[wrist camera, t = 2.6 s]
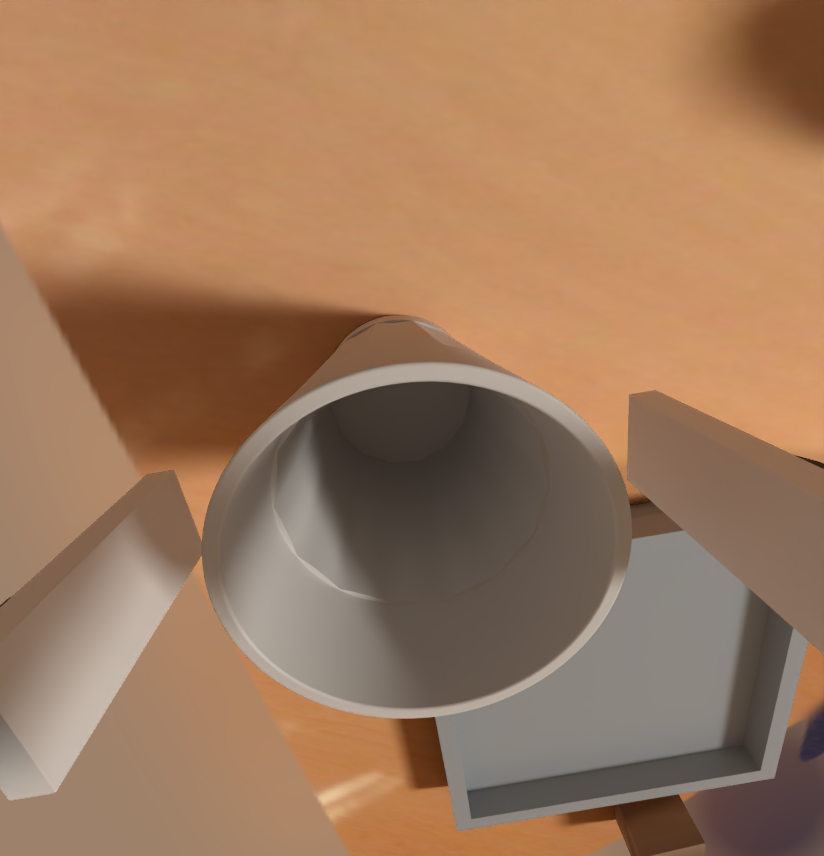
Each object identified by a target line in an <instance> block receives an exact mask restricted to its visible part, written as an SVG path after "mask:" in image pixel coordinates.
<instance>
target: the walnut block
mask: <svg viewBox="0 0 824 856" xmlns="http://www.w3.org/2000/svg"><path fill="white" fill-rule="evenodd" d="M614 810H615V817H616V821H617V823H618V826H619V828H620V830H621V833H622V835H623V838H624V840H625V842H626V845H627V847H628V850H629V852H630V854H631V856H706V855H705V842H704V840H703V838H702V837H701V835H700V833H699V831H698V829H697V827H696V826H695V824H694V822H693V820H692V818H691V817H690V815H689V813H688V811H687V809H686V807H685V805H684V804H683V802H682V800H681V798H680V796H679V795H678V794H677V795H671V796H665V797H659V798H653V799H647V800H641V801H635V802H629V803H623V804H617V805H614Z"/></svg>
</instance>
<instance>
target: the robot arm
mask: <svg viewBox="0 0 824 856" xmlns="http://www.w3.org/2000/svg"><path fill="white" fill-rule="evenodd" d="M627 480H628V481H629V482H630V483H631V484H632V485H634V486H635V487H636V488H637V489H638V490H639V491H640V492H641V493H643V494H644V495H645V496H646V497H647V498H648V499H649V500H650V501H652V502H653V503H654V504H655V505H656V506H657V507H658V508H659V509H661V510H662V511H663V512H664V513H665V514H666V515H667V516H668V517H670V518H671V519H672V520H673V521H674V522H675V523H676V524H677V525H678V526H680V527H681V528H682V529H683V530H684V531H685V532H686V533H687V534H689V535H690V536H691V537H692V538H693V539H694V540H695V541H696V542H698V543H699V544H700V545H701V546H702V547H703V548H704V549H705V550H707V551H708V552H709V553H710V554H711V555H712V556H713V557H714V558H716V559H717V560H718V561H719V562H720V563H721V564H722V565H723V566H725V567H726V568H727V569H728V570H729V571H730V572H731V573H732V574H734V575H735V576H736V577H737V578H738V579H739V580H740V581H741V582H743V583H744V584H745V585H746V586H747V587H748V588H749V589H750V590H752V591H753V592H754V593H755V594H756V595H757V596H758V597H759V598H761V599H762V600H763V601H764V602H765V603H766V604H767V605H768V606H770V607H771V608H772V609H773V610H774V611H775V612H776V613H777V614H779V615H780V616H781V617H782V618H783V619H784V620H785V621H786V622H788V623H789V624H790V625H791V626H792V627H793V628H794V629H795V630H797V631H798V632H799V633H800V634H801V635H802V636H803V637H804V638H806V639H807V640H808V641H809V642H810V643H811V644H812V645H813V646H815V647H816V648H817V649H818V650H819V651H820V652H821V653H822V654H824V464H823V463H821V462H818V461H814V460H810V459H807V458H803V457H799V456H796V455H792V454H790V453H788V452H786V451H784V450H782V449H780V448H778V447H775V446H773V445H771V444H769V443H767V442H765V441H763V440H761V439H758V438H756V437H754V436H752V435H750V434H748V433H746V432H743V431H741V430H739V429H737V428H735V427H733V426H731V425H729V424H726V423H724V422H722V421H720V420H718V419H716V418H714V417H711V416H709V415H707V414H705V413H703V412H701V411H699V410H697V409H694V408H692V407H690V406H688V405H686V404H684V403H682V402H680V401H677V400H675V399H673V398H671V397H669V396H667V395H665V394H662V393H660V392H658V391H656V390H654V391H648V392H642V393H636V394H630V395H629V421H628V461H627ZM201 555H202V542H201V539H200V536H199V534H198V531H197V529H196V526H195V523H194V521H193V518H192V516H191V513H190V510H189V508H188V505H187V503H186V500H185V497H184V495H183V492H182V490H181V487H180V484H179V482H178V479H177V477H176V474H175V471H174V470H170V471H164V472H158V473H152V474H147V475H146V476H145V477H144V478H143V479H142V480H140V481H139V482H138V483H137V484H136V485H135V486H134V487H133V488H132V489H130V491H128V492H127V493H126V494H125V495H124V496H123V497H122V498H121V499H120V500H118V501H117V502H116V503H115V504H114V505H113V506H112V507H111V508H110V509H108V510H107V511H106V512H105V513H104V514H103V515H102V516H101V517H100V518H98V519H97V521H95V522H94V523H93V524H92V525H91V526H90V527H88V528H87V529H86V530H85V531H84V532H83V533H82V534H81V535H80V536H79V537H78V538H76V539H75V540H74V541H73V542H72V543H71V544H70V545H69V546H67V547H66V548H65V549H64V550H63V551H62V552H61V553H60V554H59V555H58V556H56V557H55V558H54V559H53V560H52V561H51V562H50V563H49V564H48V565H46V566H45V567H44V568H43V569H42V570H41V571H40V572H39V573H38V574H36V575H35V576H34V577H33V578H32V579H31V580H30V581H29V582H28V583H27V584H26V585H24V587H22V588H21V589H20V590H19V591H18V592H17V593H15V594H14V595H13V596H12V597H10V598H9V599H7V600H6V601H5V602H4V603H3V604H1V605H0V789H1V790H2V791H3V793H4V794H5V795H6V797H7V798H8V799H9V801H10V800H16V799H22V798H28V797H34V796H40V795H45V794H52V793H56V791H57V789H58V788H59V786H60V784H61V783H62V781H63V780H64V778H65V776H66V775H67V773H68V771H69V770H70V768H71V767H72V765H73V763H74V762H75V760H76V758H77V757H78V755H79V754H80V752H81V750H82V748H83V747H84V745H85V744H86V742H87V740H88V739H89V737H90V736H91V734H92V732H93V731H94V729H95V728H96V726H97V724H98V722H99V721H100V719H101V718H102V716H103V715H104V713H105V711H106V710H107V708H108V706H109V705H110V703H111V701H112V700H113V698H114V697H115V695H116V693H117V692H118V690H119V689H120V687H121V685H122V684H123V682H124V680H125V679H126V677H127V676H128V674H129V672H130V671H131V669H132V667H133V666H134V664H135V662H136V661H137V659H138V658H139V656H140V654H141V653H142V651H143V650H144V648H145V646H146V645H147V643H148V641H149V640H150V638H151V636H152V635H153V633H154V631H155V630H156V628H157V627H158V625H159V624H160V622H161V620H162V619H163V617H164V615H165V614H166V612H167V610H168V608H169V607H170V606H171V604H172V602H173V601H174V599H175V598H176V596H177V594H178V593H179V591H180V589H181V588H182V586H183V585H184V583H185V581H186V580H187V578H188V576H189V575H190V573H191V572H192V570H193V568H194V567H195V565H196V563H197V562H198V560H199V559H200V557H201Z"/></svg>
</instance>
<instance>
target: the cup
mask: <svg viewBox="0 0 824 856" xmlns="http://www.w3.org/2000/svg"><path fill="white" fill-rule="evenodd" d="M631 543H632V518H631V509H630V503H629V498H628V494H627V490H626V487H625V484H624V481H623V478H622V476H621V473H620V471H619V469H618V467H617V464H616V463H615V461H614V459H613V457H612V455H611V454H610V452H609V450H608V449H607V447H606V446H605V444H604V443H603V442H602V440H601V439H600V438H599V436H598V435H597V434H596V433H595V431H594V430H593V429H592V428H591V427H590V426H589V425H588V424H587V423H586V422H585V421H584V420H583V419H582V418H581V417H580V416H579V415H578V414H577V413H576V412H574V411H573V410H572V409H571V408H570V407H568V406H567V405H566V404H564V403H563V402H562V401H560V400H559V399H557V398H556V397H554V396H553V395H551V394H549V393H548V392H546V391H544V390H542V389H541V388H539V387H537V386H535V385H533V384H532V383H530V382H528V381H526V380H524V379H522V378H521V377H519V376H517V375H515V374H513V373H511V372H510V371H508V370H506V369H504V368H502V367H501V366H499V365H497V364H495V363H493V362H491V361H490V360H488V359H486V358H484V357H483V356H481V355H479V354H478V353H476V352H475V351H473V350H471V349H470V348H468V347H466V346H465V345H463V344H461V343H460V342H458V341H457V340H455V339H453V338H452V337H451V336H450V335H449V334H448V333H447V332H445V331H444V330H443V329H441V328H440V327H438V326H437V325H435V324H433V323H431V322H429V321H427V320H424V319H421V318H417V317H413V316H406V315H392V316H385V317H381V318H377V319H374V320H371V321H369V322H367V323H365V324H363V325H361V326H359V327H358V328H356V329H355V330H354V331H352V332H351V333H350V334H349V335H348V336H347V337H346V338H345V339H344V340H343V341H342V342H341V344H340V345H339V346H338V348H337V349H336V351H335V352H334V353H333V355H332V356H331V357H330V358H329V359H328V360H327V361H326V362H325V363H324V364H323V365H322V366H321V367H320V368H319V369H318V370H317V371H316V372H315V373H314V374H313V375H312V376H311V377H310V378H309V379H308V380H307V381H306V382H305V383H304V384H303V385H302V386H301V387H300V388H299V389H298V390H297V391H296V392H295V393H294V394H293V395H292V396H291V397H290V398H288V399H287V400H286V401H285V402H284V403H283V404H282V405H281V406H280V407H279V408H278V409H277V410H276V411H275V412H274V413H272V414H271V415H270V416H269V417H268V418H267V419H266V420H265V421H264V422H263V423H262V424H261V425H260V426H259V427H258V428H257V429H256V430H255V431H254V432H253V433H252V434H251V435H250V436H249V437H248V438H247V439H246V440H245V441H244V442H243V444H242V445H241V446H240V447H239V449H238V450H237V451H236V453H235V454H234V455H233V457H232V458H231V460H230V461H229V463H228V464H227V466H226V468H225V469H224V471H223V473H222V474H221V476H220V478H219V480H218V482H217V485H216V487H215V489H214V492H213V494H212V497H211V500H210V502H209V506H208V509H207V513H206V517H205V522H204V528H203V536H202V564H203V572H204V578H205V583H206V587H207V590H208V594H209V597H210V600H211V602H212V605H213V607H214V610H215V612H216V614H217V616H218V618H219V620H220V622H221V624H222V625H223V627H224V629H225V630H226V632H227V633H228V635H229V636H230V638H231V639H232V640H233V642H234V643H235V644H236V645H237V647H238V648H239V649H240V650H241V651H242V652H243V653H244V655H245V656H246V657H247V658H248V659H249V660H250V661H251V662H252V663H254V664H255V665H256V666H257V667H258V668H259V669H260V670H262V671H263V672H264V673H265V674H267V675H268V676H269V677H271V678H272V679H274V680H275V681H276V682H278V683H279V684H281V685H283V686H284V687H286V688H288V689H289V690H291V691H293V692H295V693H297V694H299V695H301V696H303V697H305V698H307V699H310V700H312V701H315V702H317V703H320V704H323V705H325V706H328V707H331V708H335V709H338V710H342V711H346V712H350V713H355V714H360V715H365V716H373V717H382V718H400V719H409V718H429V717H438V716H445V715H451V714H456V713H461V712H465V711H469V710H473V709H477V708H480V707H483V706H487V705H490V704H492V703H495V702H498V701H501V700H503V699H505V698H508V697H510V696H512V695H514V694H516V693H519V692H521V691H523V690H525V689H526V688H528V687H530V686H532V685H534V684H535V683H537V682H539V681H540V680H542V679H543V678H545V677H546V676H548V675H549V674H551V673H552V672H554V671H555V670H556V669H558V668H559V667H560V666H561V665H563V664H564V663H565V662H566V661H568V660H569V659H570V658H571V657H572V656H573V655H574V654H575V653H576V652H577V651H578V650H579V649H580V648H581V647H582V646H583V645H584V644H585V643H586V642H587V641H588V640H589V639H590V637H591V636H592V635H593V634H594V633H595V631H596V630H597V629H598V627H599V626H600V625H601V623H602V622H603V620H604V619H605V617H606V616H607V614H608V613H609V611H610V609H611V607H612V606H613V604H614V602H615V600H616V598H617V595H618V593H619V591H620V589H621V586H622V583H623V581H624V578H625V574H626V571H627V567H628V563H629V558H630V552H631Z"/></svg>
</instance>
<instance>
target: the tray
mask: <svg viewBox="0 0 824 856" xmlns="http://www.w3.org/2000/svg"><path fill="white" fill-rule="evenodd" d="M630 509H631V518H632V543H631V552H630V558H629V563H628V567H627V571H626V574H625V578H624V581H623V583H622V586H621V589H620V591H619V593H618V595H617V598H616V600H615V602H614V604H613V606H612V607H611V609H610V611H609V613H608V614H607V616H606V617H605V619H604V620H603V622H602V623H601V625H600V626H599V627H598V629H597V630H596V631H595V633H594V634H593V635H592V636H591V637H590V639H589V640H588V641H587V642H586V643H585V644H584V645H583V646H582V647H581V648H580V649H579V650H578V651H577V652H576V653H575V654H574V655H573V656H572V657H571V658H570V659H569V660H568V661H566V662H565V663H564V664H563V665H561V666H560V667H559V668H558V669H556V670H555V671H554V672H552V673H551V674H549V675H548V676H546V677H545V678H543V679H542V680H540V681H539V682H537V683H535V684H534V685H532V686H530V687H528V688H526V689H525V690H523V691H521V692H519V693H516V694H514V695H512V696H510V697H508V698H505V699H503V700H501V701H498V702H495V703H492V704H490V705H487V706H483V707H480V708H477V709H473V710H469V711H465V712H461V713H456V714H451V715H445V716H438V717H435V720H436V725H437V730H438V735H439V740H440V746H441V751H442V756H443V761H444V766H445V772H446V777H447V782H448V787H449V792H450V797H451V803H452V808H453V813H454V818H455V823H456V828H457V831H463V830H469V829H475V828H481V827H487V826H493V825H498V824H504V823H510V822H516V821H522V820H528V819H534V818H540V817H546V816H552V815H558V814H564V813H570V812H576V811H582V810H588V809H593V808H599V807H605V806H611V805H617V804H623V803H629V802H635V801H641V800H647V799H653V798H659V797H665V796H671V795H677V794H683V793H688V792H694V791H700V790H706V789H712V788H718V787H724V786H730V785H735V784H742V783H748V782H753V781H760V780H766V779H771V778H774V777H775V773H776V769H777V765H778V761H779V757H780V753H781V749H782V745H783V741H784V737H785V733H786V729H787V725H788V721H789V717H790V713H791V709H792V705H793V701H794V697H795V693H796V689H797V685H798V681H799V677H800V673H801V669H802V665H803V661H804V657H805V653H806V649H807V645H808V640H807V639H806V638H804V637H803V636H802V635H801V634H800V633H799V632H798V631H797V630H795V629H794V628H793V627H792V626H791V625H790V624H789V623H788V622H786V621H785V620H784V619H783V618H782V617H781V616H780V615H779V614H777V613H776V612H775V611H774V610H773V609H772V608H771V607H770V606H768V605H767V604H766V603H765V602H764V601H763V600H762V599H761V598H759V597H758V596H757V595H756V594H755V593H754V592H753V591H752V590H750V589H749V588H748V587H747V586H746V585H745V584H744V583H743V582H741V581H740V580H739V579H738V578H737V577H736V576H735V575H734V574H732V573H731V572H730V571H729V570H728V569H727V568H726V567H725V566H723V565H722V564H721V563H720V562H719V561H718V560H717V559H716V558H714V557H713V556H712V555H711V554H710V553H709V552H708V551H707V550H705V549H704V548H703V547H702V546H701V545H700V544H699V543H698V542H696V541H695V540H694V539H693V538H692V537H691V536H690V535H689V534H687V533H686V532H685V531H684V530H683V529H682V528H681V527H680V526H678V525H677V524H676V523H675V522H674V521H673V520H672V519H671V518H670V517H668V516H667V515H666V514H665V513H664V512H663V511H662V510H661V509H659V508H658V507H657V506H656V505H655V504H654V503H653V502H648V503H642V504H636V505H630Z"/></svg>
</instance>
